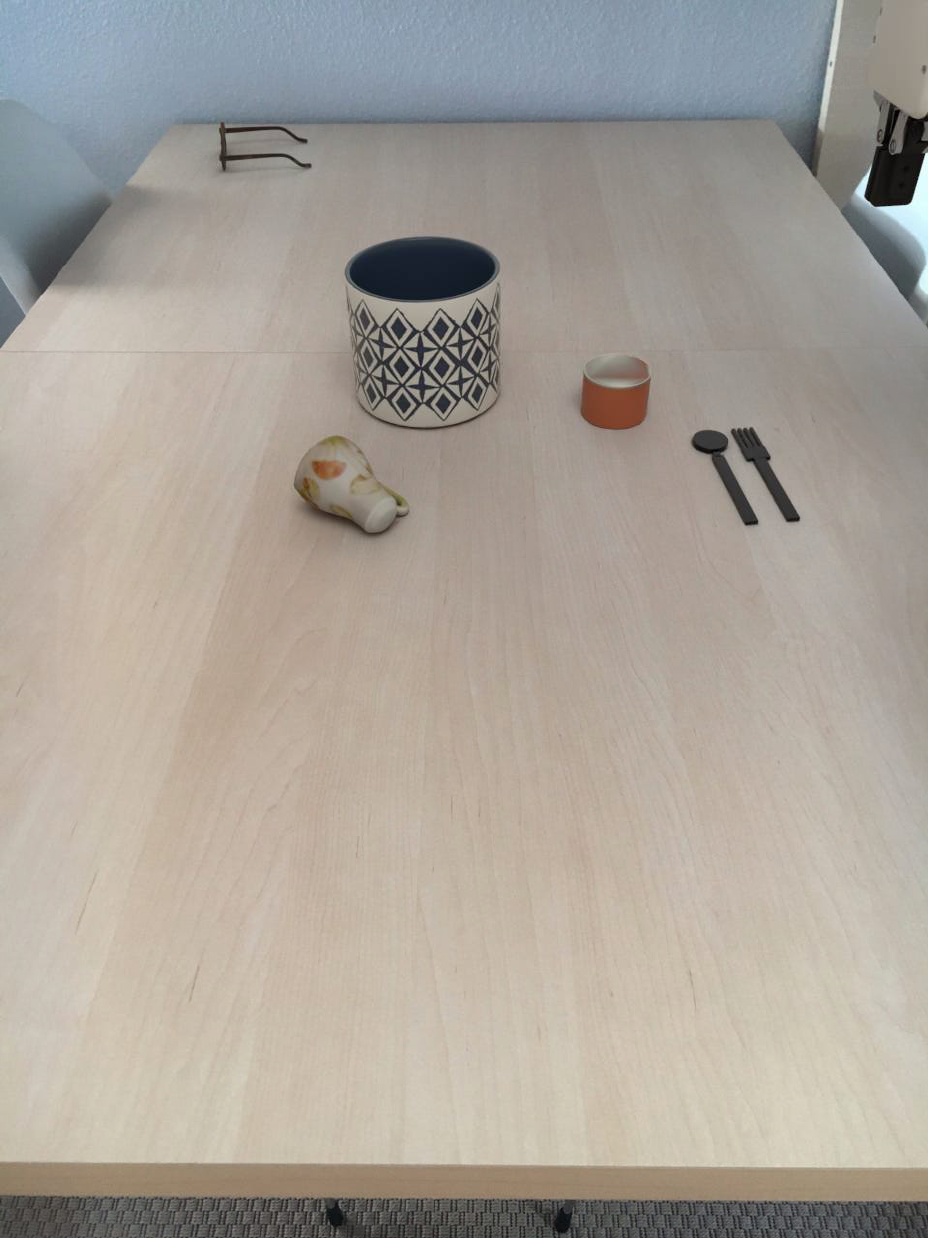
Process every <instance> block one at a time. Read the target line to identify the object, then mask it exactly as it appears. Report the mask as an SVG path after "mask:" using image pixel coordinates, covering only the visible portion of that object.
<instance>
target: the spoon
mask: <svg viewBox="0 0 928 1238" xmlns="http://www.w3.org/2000/svg"><path fill="white" fill-rule="evenodd" d="M691 440H692V441H691V444H692V447H693V448H694V449H695V450H696V451H699V452H701V453H704V454H710V455H711V461H712V462H713V465H714V466H715V468H716V470H717V473H718V475H719V477H720V478H721V481H722V482H723V484H724V486H725V488H726V490H727V492H728V494H729V496H730V498H731V500H732V502H733V503H734V505H735V508H736V510H737V512H738V513H739V515H740V516H741V520H742V521H743V524H744V525H745V526H749V525H750V526H751V525H759V519H758V517H757V515H756V513H755V511H754V510H753V508H752V506H751V504H750V502H749V500H748V498H747V496H746V494H745V492H744V491H743V489H742V487H741V485H740V483H739V481H738V479H737V478H736V475H735V473H734V472H733V470H732V468H731V466H730V464H729V462H728V460H727V459H726V456H725V454H721V453H723V452H725V451H726V450H727V449H728V447H729V441H730V440H729V438H728V436H727V435H726V434H724V433H723V432H720V431H718V430H713V429H704V430H699V431H697V432H695V433H694V435H693V437H692V439H691Z"/></svg>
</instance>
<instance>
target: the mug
mask: <svg viewBox="0 0 928 1238" xmlns="http://www.w3.org/2000/svg"><path fill="white" fill-rule="evenodd" d="M293 487H294V489H295V491H296V492H297V493H298V494H299V495H300V497H301V498H302V499H303V500H304V501H305V502H306V503H308V505H310V506H312V507H313V508H315V509H317V510H320V511H323V512H326V513H329V514H333V515H336V516H340V517H344V518H347V519H349V520H350V521H353V522H354V523H355V524H357V525H358V526H359V527H360V528H362V529H363V530H364V531H365V532H367V533H370V534H373V533H380V532H383V531H385V530H386V529H387V528H388V527H390V525H391V524H392V523H393V522H394V520H395V518H396V516H397V515H398V516H401V517H402V516H406V515H407V514H408V513H409V511H410V504H409V502H408V501H407V500H406V499H405V498H404V497H403V496H402V495H400V494H398V493H396V492H395V491H394V490H392V489H390V488H389V487H387V486H386V485H384V484H383V483H382V482H380V480H378V479H377V477H376V475H375V473H374V471H373V469H372V466H371V465H370V462H369V460H368V458H367V456H366V455H365V453H364V451H363V450H362V449H361V447H359V446H358V445H357V444H356V443H355V442H354V441H352V440H350V439H349V438H346V437H345V436H342V435H330V436H327V437H325V438H323V439H321V440H320V441H318V442H316V443H315V444H314V445H313V446H311V447H310V448H309V449H308V450H307V452H305V454H304V455H303V456H302V458H301V460H300V462H299V464H298V467H297V469H296V471H295V475H294V481H293Z"/></svg>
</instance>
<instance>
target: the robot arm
mask: <svg viewBox="0 0 928 1238" xmlns="http://www.w3.org/2000/svg"><path fill="white" fill-rule="evenodd" d="M865 76H866V80H867V83H868V85H869V86H870V87H871V89H873V97H872V98H873V100H874V102H875V104H876V105H877V107H878V110H879V117H878V122H877V128H876V132H875V133H876V134H875V142H876V145H877V146H876V147H875V150H874V153H873V154H874V155H873V159H872V163H871V166H870V171H869V175H868V178H867V182H866V186H865V190H864V193H863V197H864V199H865V200H866V201H867V202H869V203H870V205H871V206H872V207H874V208H884V207H901V206H908V205H910V204H911V203H912V202H913V199H914V196H915V193H916V189H917V185H918V182H919V178H920V175H921V171H922V168H923V164H924V160H925V157H926V154H928V0H882V3H881V6H880V10H879V13H878V17H877V21H876V24H875V29H874V33H873V37H872V40H871V45H870V50H869V55H868V60H867V65H866V75H865Z"/></svg>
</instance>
